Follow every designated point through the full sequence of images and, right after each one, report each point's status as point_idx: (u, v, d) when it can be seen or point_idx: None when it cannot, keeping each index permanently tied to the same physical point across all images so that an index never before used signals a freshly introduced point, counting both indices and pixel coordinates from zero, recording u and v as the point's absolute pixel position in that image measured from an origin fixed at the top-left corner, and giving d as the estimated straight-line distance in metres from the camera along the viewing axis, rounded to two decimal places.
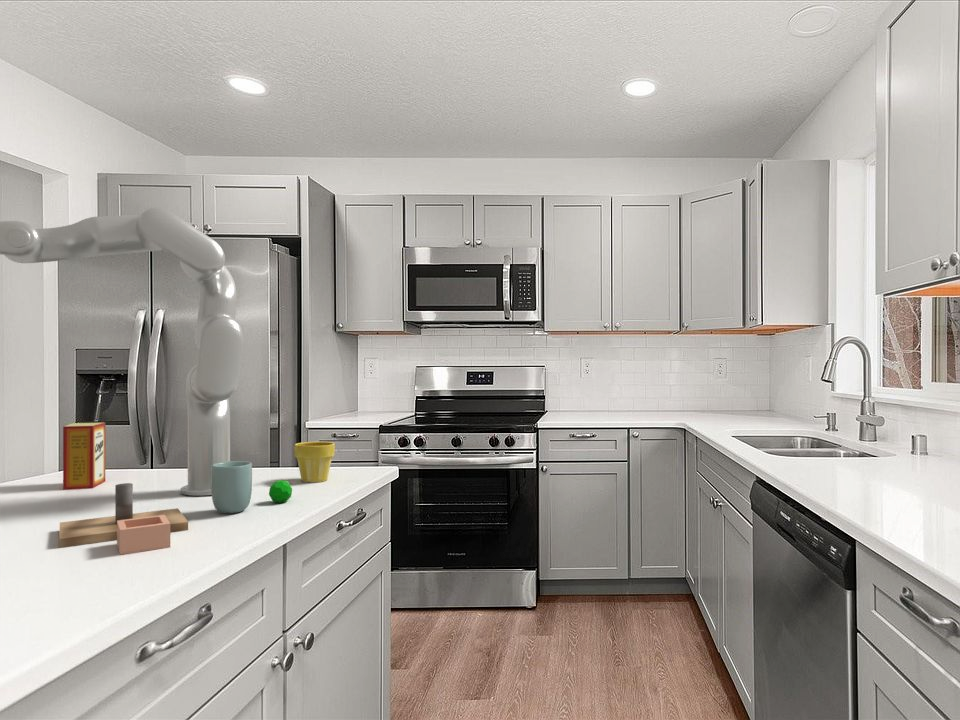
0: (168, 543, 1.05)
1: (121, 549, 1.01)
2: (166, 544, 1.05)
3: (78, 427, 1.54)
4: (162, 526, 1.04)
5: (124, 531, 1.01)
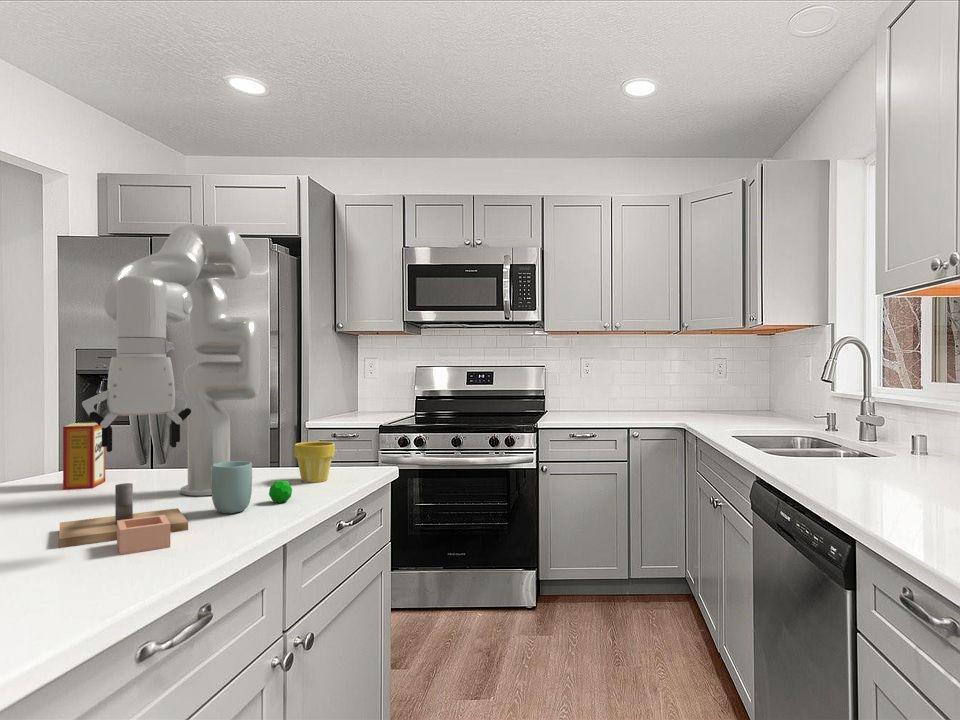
0: (168, 543, 1.05)
1: (121, 549, 1.01)
2: (166, 544, 1.05)
3: (78, 427, 1.54)
4: (162, 526, 1.04)
5: (124, 531, 1.01)
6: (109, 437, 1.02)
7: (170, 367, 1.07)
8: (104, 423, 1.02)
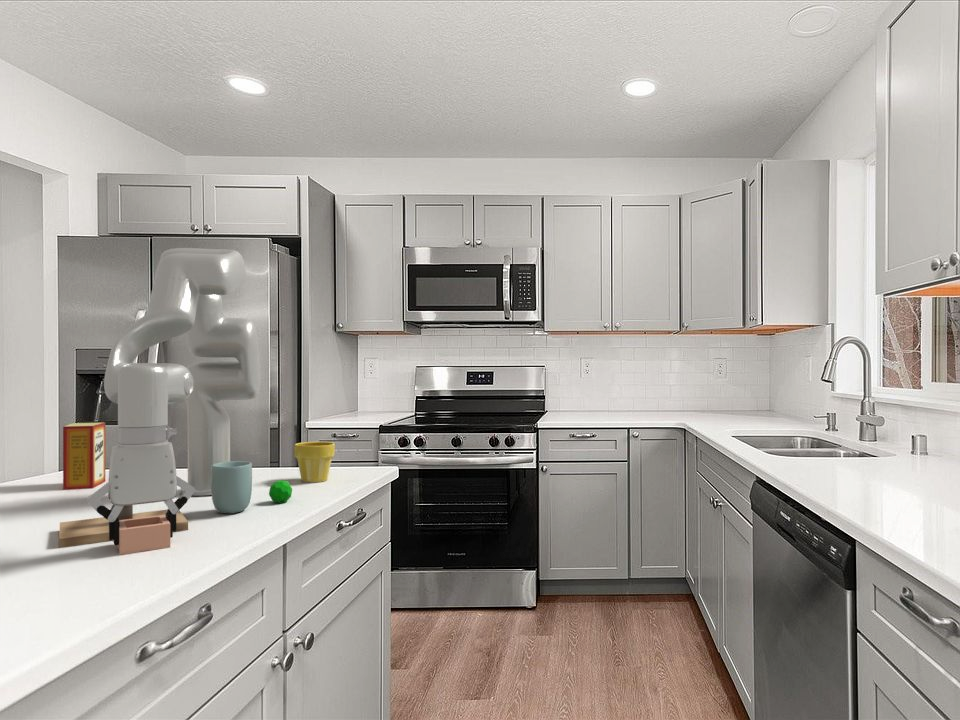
0: (168, 543, 1.05)
1: (121, 549, 1.01)
2: (166, 544, 1.05)
3: (78, 427, 1.54)
4: (162, 526, 1.04)
5: (124, 531, 1.01)
6: (116, 531, 1.03)
7: (172, 454, 1.07)
8: (111, 517, 1.02)
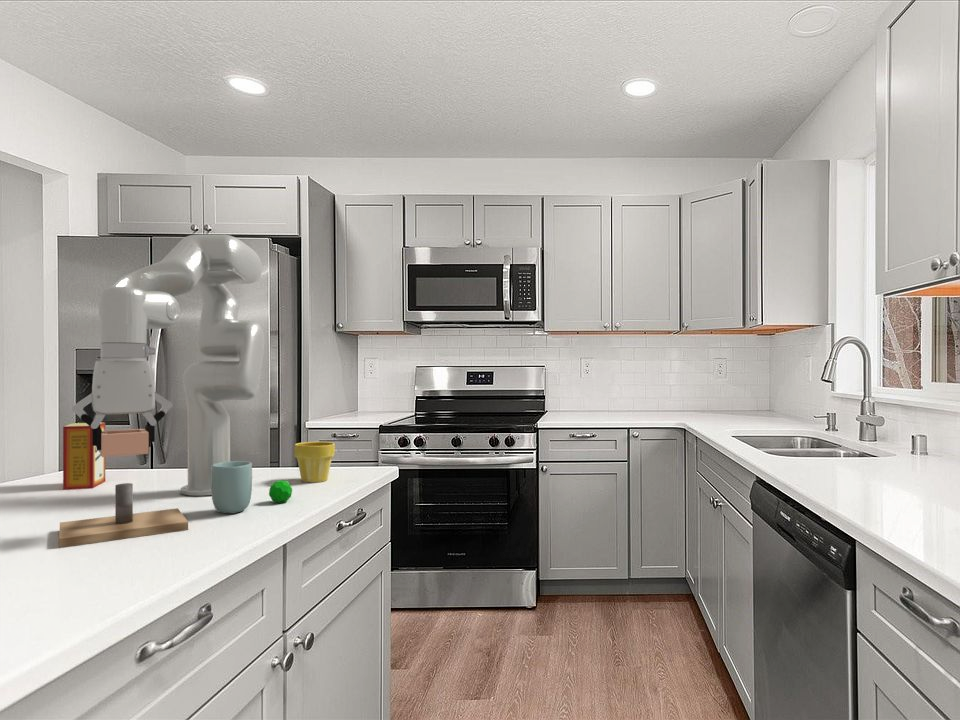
0: (146, 450, 1.15)
1: (103, 452, 1.11)
2: (144, 451, 1.14)
3: (78, 427, 1.54)
4: (141, 434, 1.14)
5: (105, 436, 1.11)
6: (99, 437, 1.12)
7: (150, 370, 1.17)
8: (94, 424, 1.12)
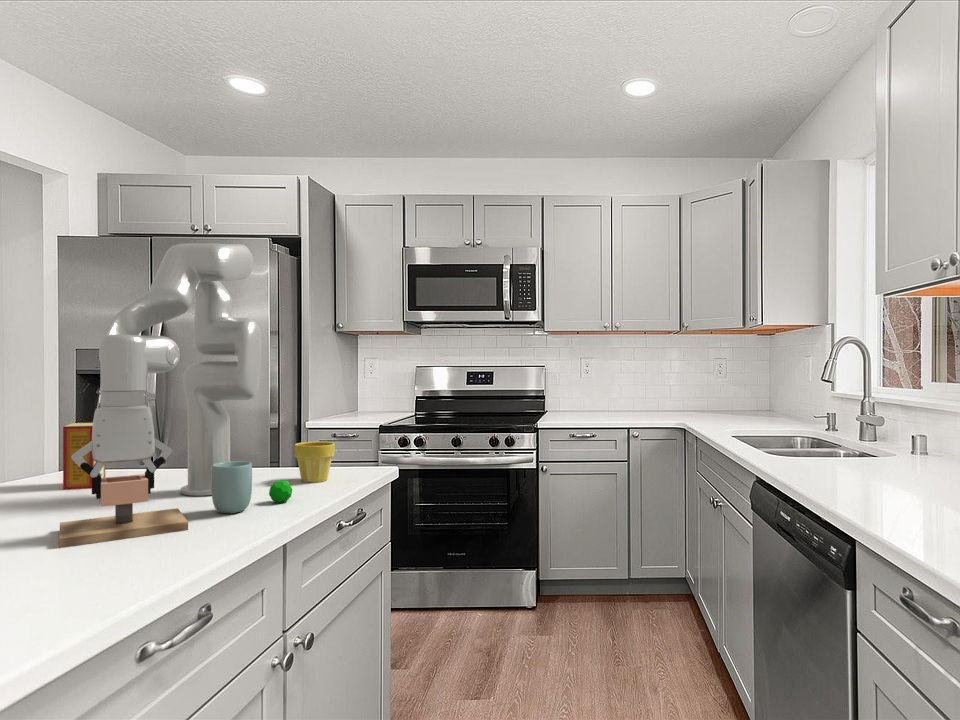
0: (146, 498, 1.14)
1: (102, 501, 1.11)
2: (144, 498, 1.14)
3: (78, 427, 1.54)
4: (140, 482, 1.14)
5: (105, 485, 1.11)
6: (98, 486, 1.12)
7: (150, 417, 1.17)
8: (94, 473, 1.12)
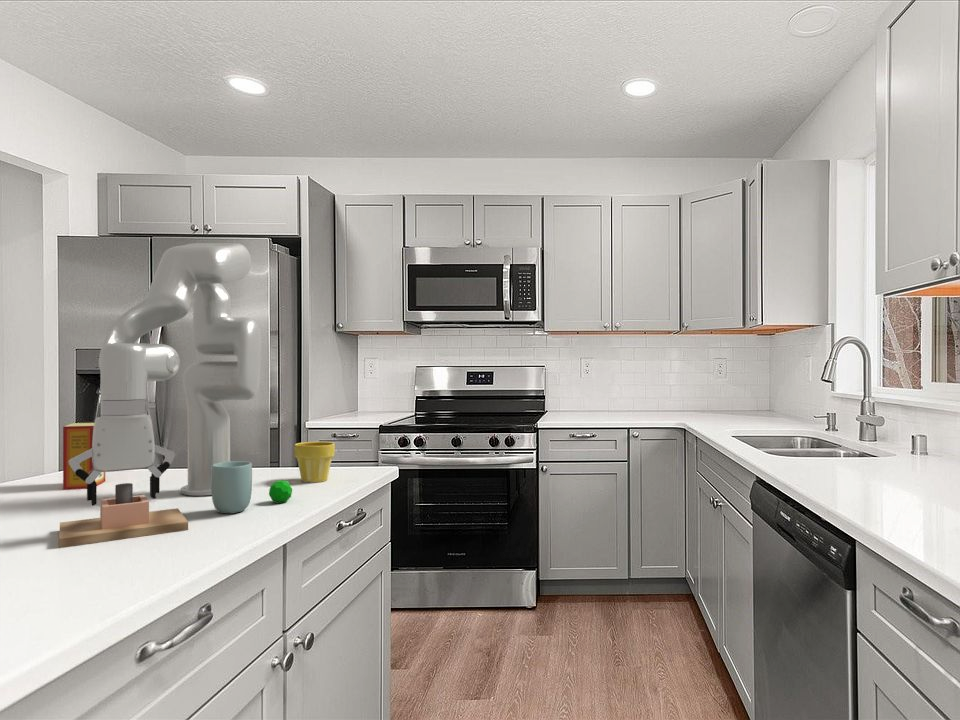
0: (147, 520, 1.15)
1: (103, 524, 1.11)
2: (145, 520, 1.14)
3: (78, 427, 1.54)
4: (141, 504, 1.14)
5: (106, 508, 1.11)
6: (94, 492, 1.12)
7: (150, 425, 1.17)
8: (89, 479, 1.12)
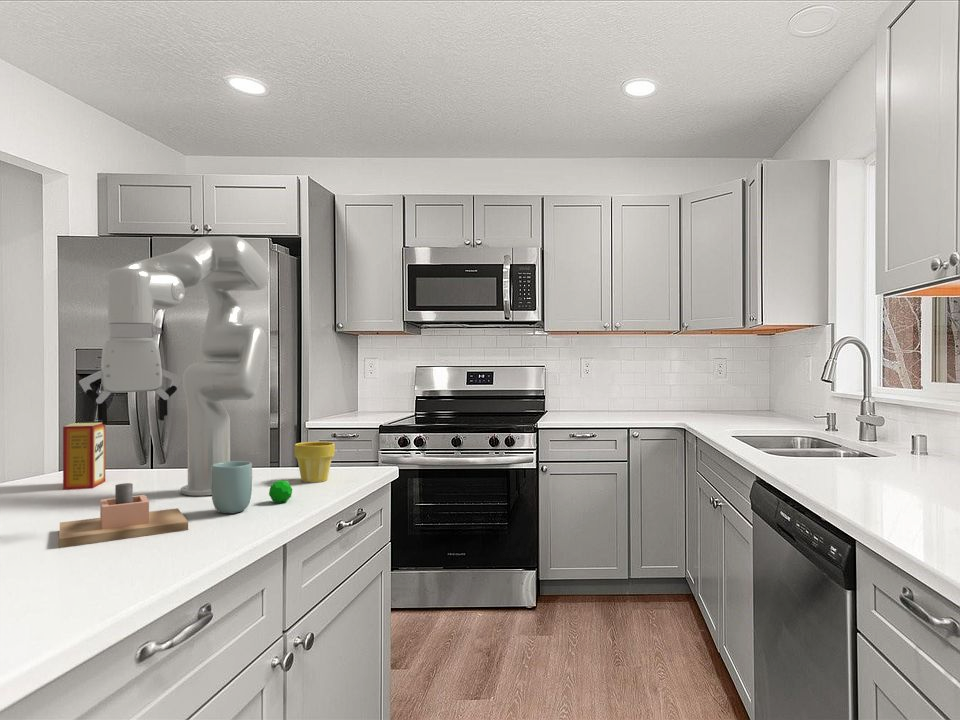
0: (147, 520, 1.15)
1: (103, 524, 1.11)
2: (145, 520, 1.14)
3: (78, 427, 1.54)
4: (141, 504, 1.14)
5: (106, 508, 1.11)
6: (104, 411, 1.16)
7: (157, 349, 1.20)
8: (99, 399, 1.16)
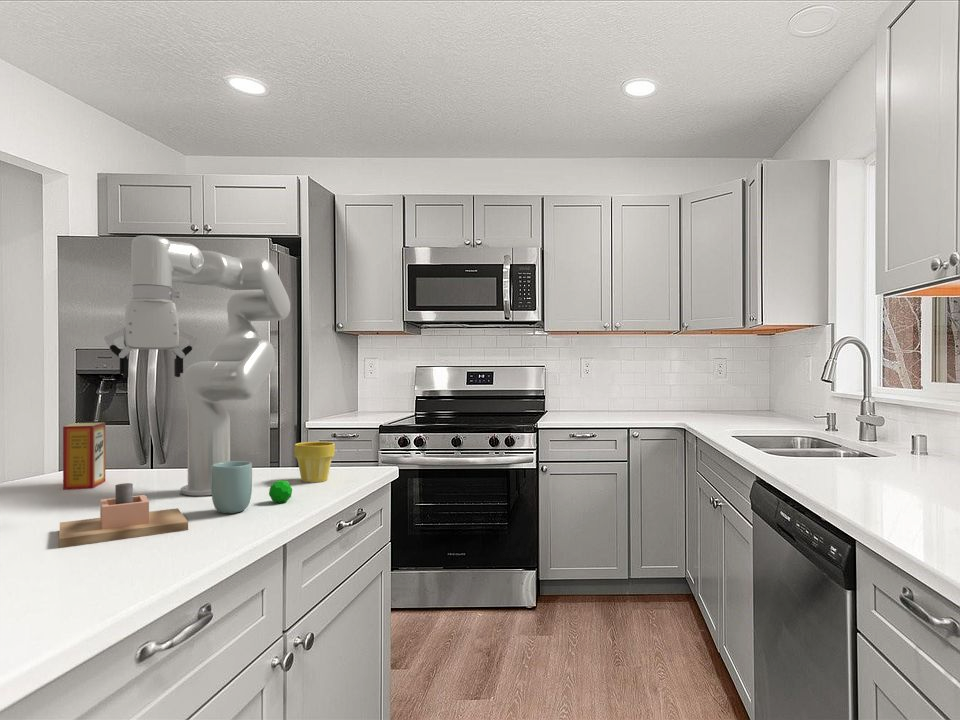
0: (147, 520, 1.15)
1: (103, 524, 1.11)
2: (145, 520, 1.14)
3: (78, 427, 1.54)
4: (141, 504, 1.14)
5: (106, 508, 1.11)
6: (126, 365, 1.26)
7: (175, 311, 1.31)
8: (122, 354, 1.26)
